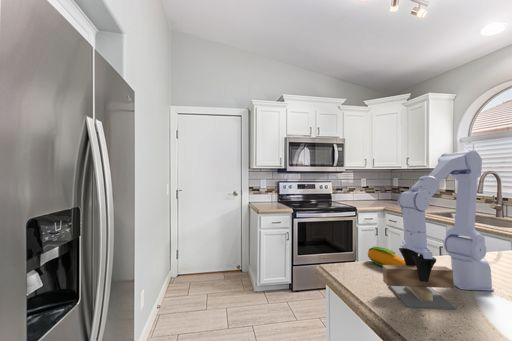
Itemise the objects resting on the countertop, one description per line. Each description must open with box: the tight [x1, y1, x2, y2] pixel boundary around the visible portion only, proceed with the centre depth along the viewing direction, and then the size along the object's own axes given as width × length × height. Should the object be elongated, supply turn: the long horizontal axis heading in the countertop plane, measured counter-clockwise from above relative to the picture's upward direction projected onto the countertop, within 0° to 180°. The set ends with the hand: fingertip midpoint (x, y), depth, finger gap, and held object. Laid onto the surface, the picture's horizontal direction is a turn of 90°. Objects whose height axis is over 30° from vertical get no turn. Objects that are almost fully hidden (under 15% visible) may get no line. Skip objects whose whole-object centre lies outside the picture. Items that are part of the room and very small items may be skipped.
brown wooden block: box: [382, 265, 455, 289], centre depth 75 cm, size 18×4×5 cm, turn 81°
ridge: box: [406, 286, 433, 302], centre depth 75 cm, size 3×10×4 cm, turn 171°
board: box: [388, 286, 457, 310], centre depth 75 cm, size 12×14×1 cm
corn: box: [367, 246, 406, 267], centre depth 101 cm, size 7×8×20 cm
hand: (417, 276), depth 75 cm, fingers open, 7 cm apart
